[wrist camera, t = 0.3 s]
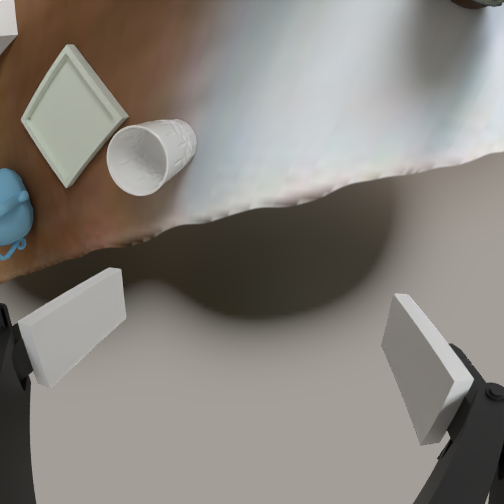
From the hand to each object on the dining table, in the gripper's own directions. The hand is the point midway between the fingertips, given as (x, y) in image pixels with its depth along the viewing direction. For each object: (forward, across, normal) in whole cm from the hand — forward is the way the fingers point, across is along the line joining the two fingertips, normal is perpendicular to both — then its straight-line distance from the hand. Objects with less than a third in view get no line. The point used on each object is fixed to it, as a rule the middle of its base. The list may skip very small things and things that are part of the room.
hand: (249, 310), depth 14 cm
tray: (+25, -33, +16) cm, 44 cm away
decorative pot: (+30, -54, +2) cm, 62 cm away
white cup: (+26, -14, +10) cm, 31 cm away
